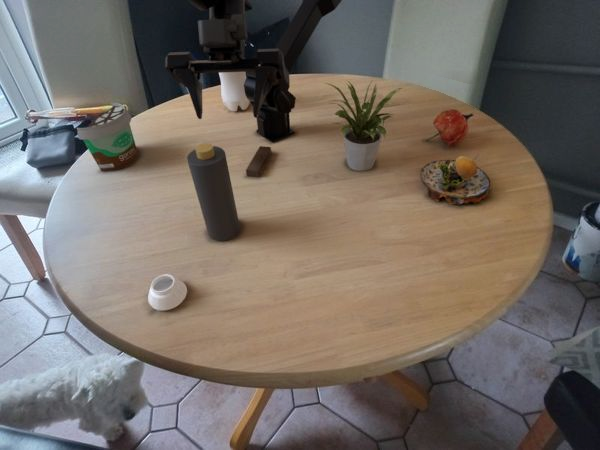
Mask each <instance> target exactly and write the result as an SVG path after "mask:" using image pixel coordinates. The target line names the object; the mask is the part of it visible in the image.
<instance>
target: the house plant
mask: <svg viewBox="0 0 600 450" xmlns="http://www.w3.org/2000/svg"><path fill="white" fill-rule="evenodd" d="M373 81H374V79H372V80H371V81H370V82H369V84H368V86H367V88H366V92H365V96H364V100H363V103H362V105H361V103H360V99H359V96H358V95H357V92H356V88H355V87H354V85H353V84H352V83H351V82H350V81H348V83H346V82H345V84H346V85H347V87H348V90H349V91H350V96H351V98H352V100H353V103H354V107H355V111H356V112H355V111H354V108H353V107H352V106H351V105H350V103H349V101H348V99H347V98H346V96H345V94H344V93H343V91H342V90H341V89H340V88H339V87H337V86H336V85H333V84H331V83H328V82H324V84H326V85H329V86H331V87H333V88H334V89H336V90H337V91H338V92H339V94H340V95H341V97H342V98H343V100H344V101H343V100H340V99H331V100H329V101H328V102H331V103H329V105H333V104H335V105H338V106H339V107H340V108H341V109H339V110H337V111H336V112H335V113H334V115H335V116H338V118H342V119H345V120H346V121H347V123H348V124H345V125H342V127H341V130H340V134H339V135H340V137H341V136H342V134H343V141H344V149H345V156H346V163H347V164H346V165H347V166H348V168H349V169H351V170H354V171H359V172H364V171H369V170H370V169H372V168H373V167H374V165H375V161H376V159H377V154H378V151H379V147H380V144H381V141H382V137H383V138H384V139H383V140H385V139H386V136H387V129H386V128H385V127H384V126H385V122H386V120H388V119H390V118H394V116H396V114H395V113H386V112H385V113H384V112H383V113H379V112H381V110H382V109H383V108H384V107H385V106H388V105H396V103H395V102H389V101H390V100H391V99H392V98H393V96H394V95H395V94H396V93H397V92H399V91H401V90H402V89H403V87H399V88H395V89H394V90H392V91H390V92H389V93H388V94H387V95H385V96H384V97H383V98H382V99H381V101H380V102H378V104H377V105H376V107H375V108H374V110H373V107H374V103H375V100H376V97H377V94H378V93H379V91H378V92H377V84H375V85H374V86H373V87H374V88H373V91H372V93H371V96H370V98H369V99H368V100H367V97H368V93H369V89H370V87H371V84H372V83H373ZM334 101H337V102H341V103H343V104H344V105H345V106H346V107H347V108H348V109H349V111H350V112H351V114H352V116H353V118H352V117H351V116H350V114H349V113H348V111H347V110H346V108H345V107H344V106H343V105H341V104H339V103H336V102H335V103H334ZM388 102H389V103H388ZM372 110H373V112H372ZM392 115H393V116H392ZM382 116H383V117H382ZM381 124H382V125H381ZM332 125H340V123H339V122H333V123H332Z"/></svg>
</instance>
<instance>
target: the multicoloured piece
mask: <svg viewBox="0 0 600 450" xmlns="http://www.w3.org/2000/svg"><path fill="white" fill-rule="evenodd" d="M478 157H479V155H477V156H476V157H475V158H474V159H472V158H471V157H468V156H466V155H460V156H458V157H456V159H439V160H433V161H431V162H429V163H427V164H426V165H424V166H423V167H421V170H420V179H421V183H422V184H423V186H425V187H426V188H427V192H428V193H427V195H428V198H429V199H432V200H434V201H436V202H439V201H440V199H441V198H442V197H444V199H445V200H446V201H447V203H448V204H451V205H458V206H460V205H462V204H464V203H465V204H468V203H473V204H476V203H479V202H480V201H481V200H482V199H483V200H484V199H485V198H486V197H487V195H488V194H489V188H490V186H491V180H490V178H489V176H488V174H487V173H486V172H485V171H484V170H483V169H481V168H479V167H478V166H477V164H476V162H475V160H476V159H477V158H478Z"/></svg>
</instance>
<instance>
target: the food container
mask: <svg viewBox="0 0 600 450" xmlns="http://www.w3.org/2000/svg"><path fill="white" fill-rule="evenodd" d="M110 103H111V104H110V105H111V106H112V107H110V108H109V109H108V110H107V111H106V112H104V113H102V114H100V115H97V116H96V117H95V118H94V119H93V120H92V121H91V122H90V123H89V124H88V125H87V126H85V127H76V130H77V132H76V133H77V136H78V139H79V140H82V141H83V143H84V144H85V146H86V147H87V149H88V151H89V153H90V155H91V156H92V158H93V159H94V161H95V164H96V165H97V166H98V168H99V170H100V172H112V171H117V170H121V169H123V168H125V167H128V166H130V165H131V164H133V163H134V162H136V160H137V159H138V156H139V152H138V148H137V144H136V142H135V138H134V134H133V131H132V127H131V124H130V123H131V121H132V116H131V114H130V112H129V111H128V109H127V108H126V107H125V106H124V105H123V104H121V103H118V102H110Z"/></svg>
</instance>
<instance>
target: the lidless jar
mask: <svg viewBox="0 0 600 450" xmlns="http://www.w3.org/2000/svg"><path fill="white" fill-rule="evenodd" d="M187 294H188V289H187V285H186V283H184V281H182V280H181V279H179V278H177V277H175V276H173V275H172V274H166V273H165V274H160V275H158V276H156V277H154V279H153V280H152V281H151V284H150V288H149V292H148V295H147V299H148V300H147V301H148V304H149V305H150V306H151V308H152V309H154V310H157V311H169V310H172V309H175V308H176V307H178V306H179V305H180V304H182V302H184V300H185V299H186V297H187Z"/></svg>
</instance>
